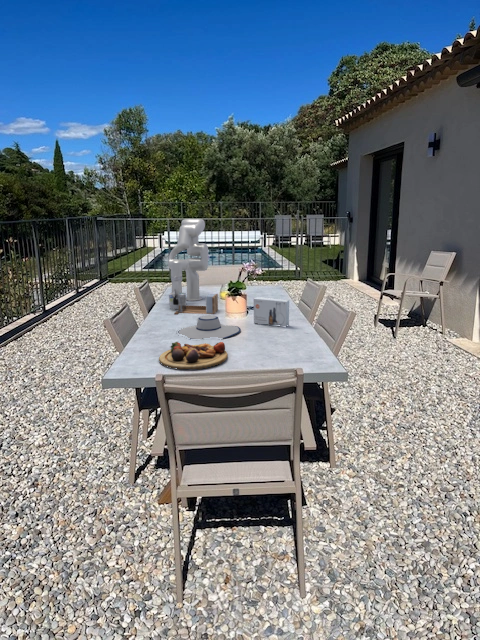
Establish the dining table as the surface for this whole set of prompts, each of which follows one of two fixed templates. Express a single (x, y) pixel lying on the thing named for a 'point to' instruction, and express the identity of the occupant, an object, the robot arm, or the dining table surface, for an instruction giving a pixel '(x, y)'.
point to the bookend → (182, 304)
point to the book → (209, 303)
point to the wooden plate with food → (194, 356)
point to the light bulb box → (172, 300)
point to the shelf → (201, 307)
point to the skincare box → (271, 311)
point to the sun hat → (209, 329)
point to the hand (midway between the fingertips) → (177, 303)
